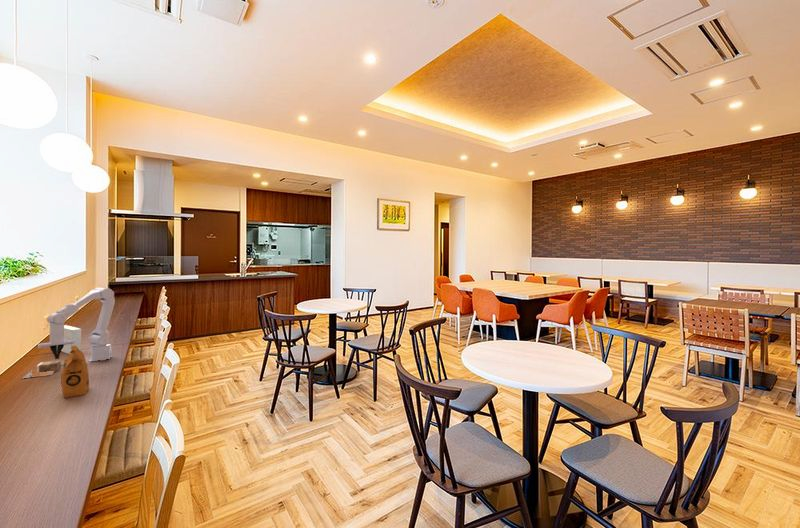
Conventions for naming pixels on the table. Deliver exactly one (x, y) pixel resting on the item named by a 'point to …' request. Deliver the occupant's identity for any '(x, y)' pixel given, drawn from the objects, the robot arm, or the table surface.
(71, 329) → the skincare box
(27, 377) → the mat
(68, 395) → the coffee package
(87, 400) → the table surface
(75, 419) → the table surface
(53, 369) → the brown and cream block
